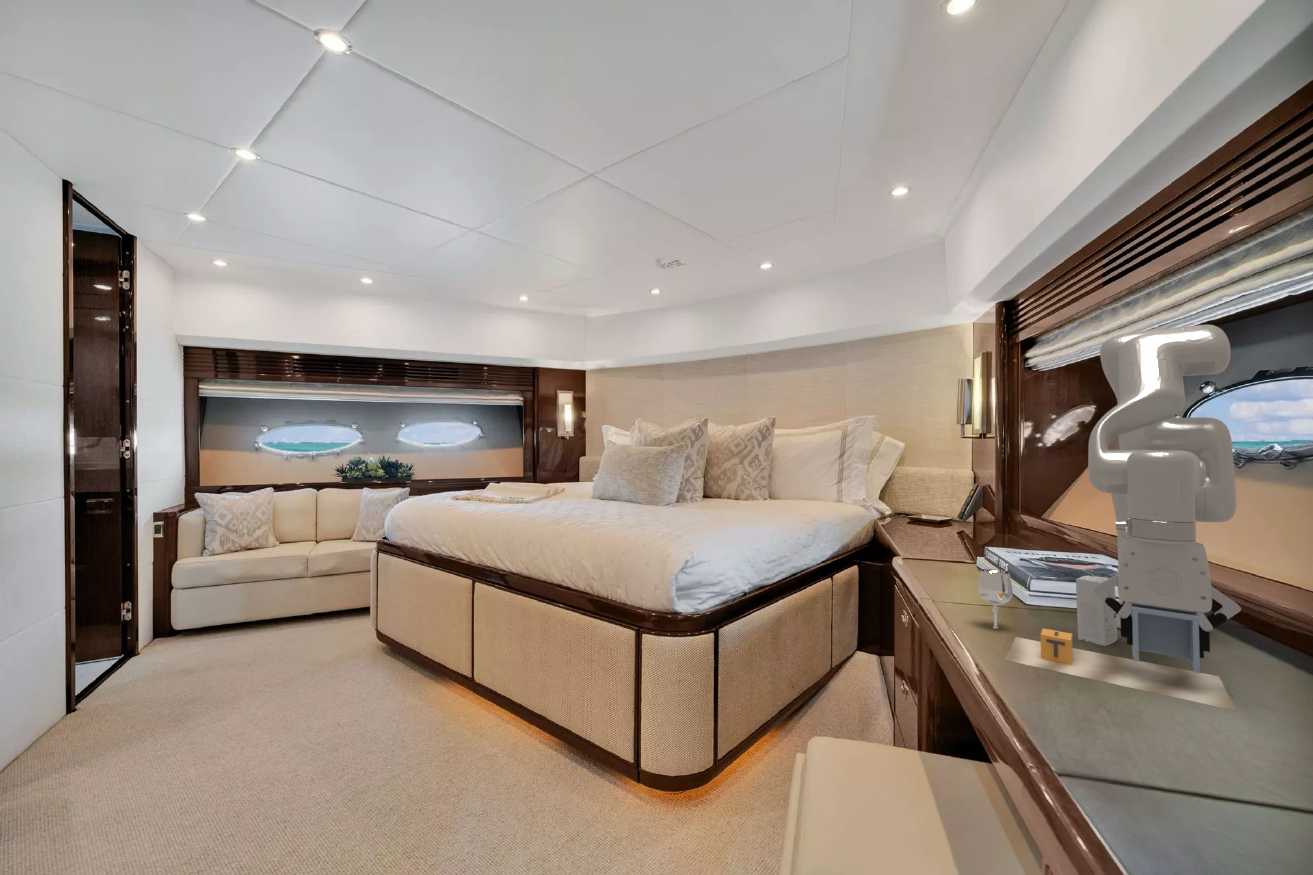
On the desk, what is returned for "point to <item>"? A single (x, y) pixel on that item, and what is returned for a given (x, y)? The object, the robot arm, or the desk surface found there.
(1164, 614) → the grey open-front cubby
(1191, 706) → the desk surface
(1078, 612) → the skincare box
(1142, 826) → the desk surface
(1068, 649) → the letter cube
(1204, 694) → the board
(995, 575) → the wineglass
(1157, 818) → the desk surface
